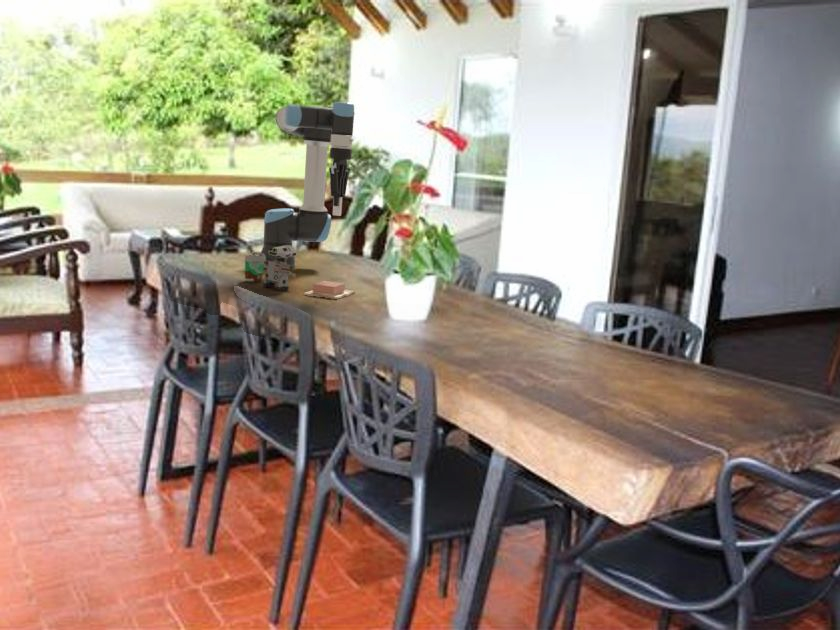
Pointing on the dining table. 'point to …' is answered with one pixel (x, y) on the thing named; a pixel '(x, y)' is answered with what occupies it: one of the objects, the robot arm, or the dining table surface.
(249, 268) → the food container
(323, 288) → the tile
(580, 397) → the dining table surface
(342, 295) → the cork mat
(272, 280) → the figurine
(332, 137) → the robot arm
